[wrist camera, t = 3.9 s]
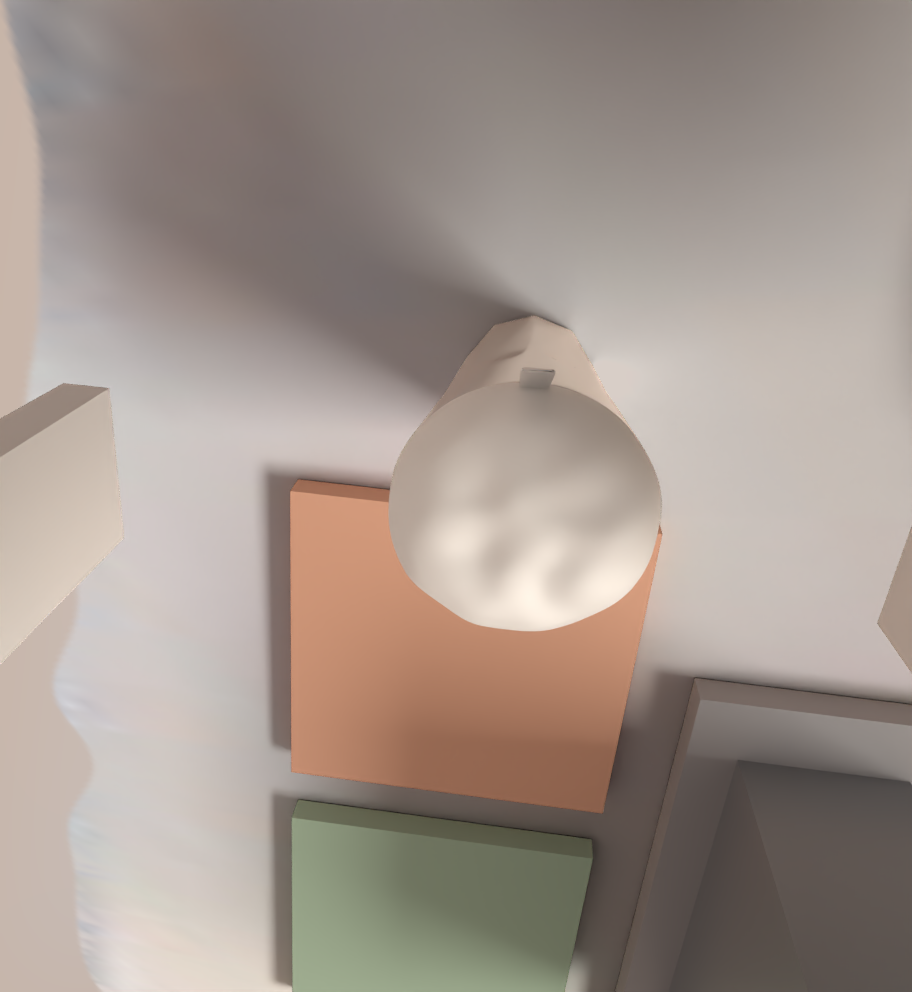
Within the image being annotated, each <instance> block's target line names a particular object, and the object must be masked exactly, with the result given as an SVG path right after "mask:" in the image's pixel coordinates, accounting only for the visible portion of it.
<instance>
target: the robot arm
mask: <svg viewBox="0 0 912 992" xmlns="http://www.w3.org/2000/svg"><path fill="white" fill-rule="evenodd" d="M123 538H124V531H123V521H122V511H121V501H120V491H119V481H118V471H117V461H116V451H115V441H114V431H113V421H112V411H111V401H110V390H109V388H103V387H94V386H85V385H75V384H66V383H63V384H61V385H59V386H58V387H56V388H54V389H52V390H50V391H49V392H47V393H45V394H43V395H42V396H40V397H38V398H36V399H34V400H33V401H31V402H29V403H27V404H26V405H24V406H22V407H20V408H18V409H17V410H15V411H13V412H11V413H10V414H8V415H6V416H4V417H3V418H1V419H0V664H1V663H2V662H3V661H4V660H5V659H6V658H7V657H8V656H9V655H10V654H11V653H12V652H13V651H14V650H15V649H16V648H17V647H18V646H19V645H20V644H21V643H22V642H23V641H24V640H25V638H27V637H28V636H29V635H30V634H31V633H32V632H33V631H34V630H35V629H36V627H38V626H39V625H40V623H41V622H42V621H43V620H44V619H45V618H46V617H47V616H48V615H49V614H50V613H51V612H52V611H53V610H54V609H55V608H56V607H57V606H58V605H59V604H60V603H61V602H62V601H63V600H64V599H65V598H66V597H67V596H68V595H69V594H70V593H71V592H72V591H73V590H74V589H75V588H76V587H77V586H78V585H79V584H80V582H81V581H82V580H83V579H84V578H85V577H86V576H87V575H88V574H89V573H90V572H91V571H92V570H93V569H94V568H95V567H96V566H97V565H98V564H99V563H100V562H101V561H102V560H103V559H104V558H105V557H106V556H107V555H108V554H109V553H110V552H111V551H112V550H113V549H114V548H115V547H116V546H117V545H118V544H119V543H120V541H121V540H122V539H123ZM877 624H878V625H879V627H880V628H881V629H882V631H883V632H884V634H885V635H886V637H887V638H888V640H889V641H890V642H891V644H892V645H893V647H894V648H895V650H896V651H897V653H898V654H899V656H900V657H901V658H902V660H903V661H904V663H905V664H906V666H907V667H908V669H909V670H910V671H911V673H912V527H911V530H910V532H909V535H908V538H907V541H906V544H905V546H904V549H903V552H902V555H901V558H900V561H899V563H898V566H897V569H896V572H895V575H894V577H893V580H892V583H891V586H890V589H889V592H888V594H887V597H886V600H885V603H884V606H883V608H882V611H881V614H880V617H879V620H878V623H877Z"/></svg>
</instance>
